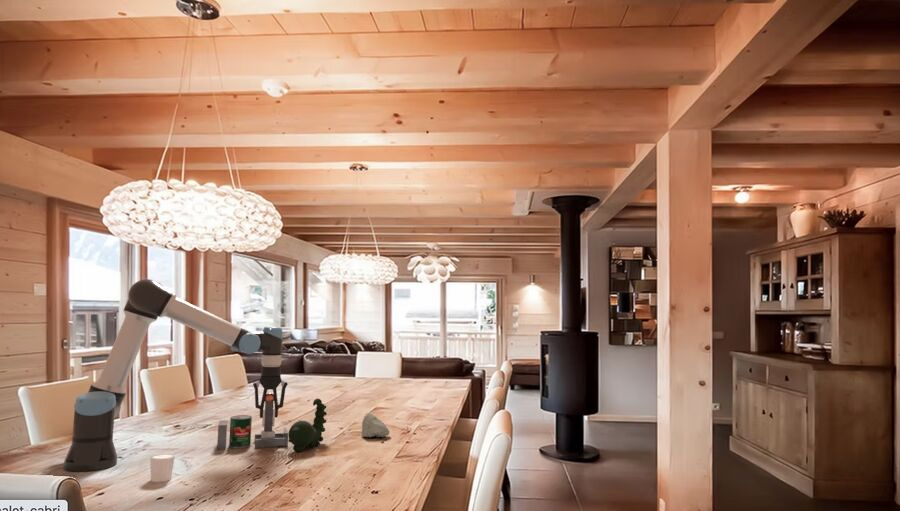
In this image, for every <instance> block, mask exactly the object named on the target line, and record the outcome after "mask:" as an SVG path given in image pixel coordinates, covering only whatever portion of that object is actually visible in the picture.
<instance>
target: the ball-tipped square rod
mask: <svg viewBox="0 0 900 511" xmlns="http://www.w3.org/2000/svg"><path fill="white" fill-rule="evenodd" d="M264 409H265V424H264V427H263V428H262V427H261V428H260V434H261V439H271V438H275V433H276V429H275V427H272V424H273V409H274V394H273V392H267V394H266V399H265V403H264Z"/></svg>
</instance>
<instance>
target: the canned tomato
mask: <svg viewBox="0 0 900 511" xmlns="http://www.w3.org/2000/svg"><path fill="white" fill-rule="evenodd" d="M252 418H253V417H252V416H251V415H245V414H244V415H243V414H241V415H239V414H238V415H232V416H230V419H229V420H230V421H229V422H230V424H229V441H228V447H229V448H232V449H243V448H248V447H250V446H251V441H252V440H251V439H252V438H251V437H252V421H253V420H252Z"/></svg>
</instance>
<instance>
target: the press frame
mask: <svg viewBox="0 0 900 511" xmlns="http://www.w3.org/2000/svg"><path fill="white" fill-rule="evenodd" d="M228 424H229V423H228V420H227V419H224V420H219V422H218V428H217V442H216V445H217V446H216V450H217V451H220V450H221V451H222V449H224V450H227V449H226V448H227V442H228V441H227V439H228V438H227V437H228V436H227V435H228ZM253 443H255V444H254V449H262V448H278V447H277V446H284V447H288V446H289V430H288V429H287V427H283V432H278V433H277V432H275V438H271V439H261V433H255V434H254V442H253Z"/></svg>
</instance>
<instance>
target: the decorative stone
mask: <svg viewBox="0 0 900 511" xmlns="http://www.w3.org/2000/svg"><path fill="white" fill-rule="evenodd" d="M361 426H362V428H361V437H362V438H365V437H369V438H373V437H374V438H379V437H382V438H385V437H386V436H389V434H390V430H389V428H388V426H387V425H386V424H385V423H384V422H383V421H382V420H381V419H380V418H378V417H377V416H376V415H374V414H372V413H366V414H365V416H364V417H363V419H362V423H361ZM375 436H376V437H375Z"/></svg>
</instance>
